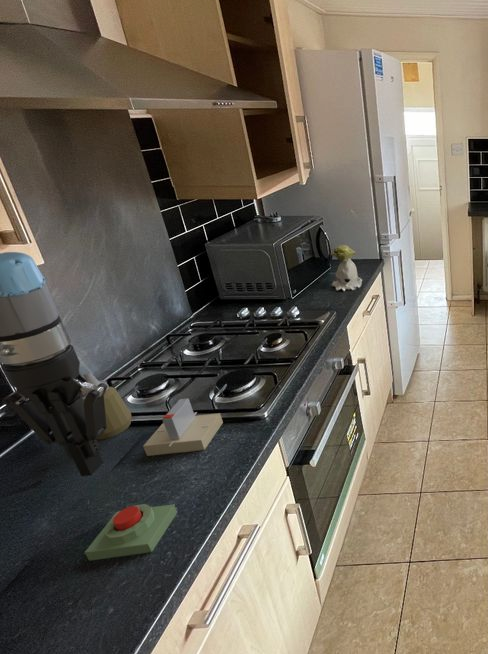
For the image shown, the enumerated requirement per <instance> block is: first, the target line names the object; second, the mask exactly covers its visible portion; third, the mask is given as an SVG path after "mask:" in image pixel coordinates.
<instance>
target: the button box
mask: <svg viewBox="0 0 488 654" xmlns="http://www.w3.org/2000/svg"><path fill="white" fill-rule="evenodd" d="M134 506H136V507H138V508H139V510H140V512H141V514H142V517H141V519H140V521H139V522H138V523H136V524H135V525H134V526H133V527H131V528H128V529H126V530H124V531H118V530H117V529H116V527H115V525H114V523H113V519H114V517H115V516H116V515H117V514H118V513H119V512H120V511H121V510H119V511H116V512H115V513H114V514H113V516H112V517H111V518H110V519H109V520H108V522H107V523H106V525H105V526H104V527H103V528H102V530H101V531H100V532H99V533H98V534H97V536H96V537H95V538H94V540H92V541H91V544H90V545H89V546H88V547H87V548H86V550H85V551H84V555H85V556H86V558H87V560H88V561H90V562H91V561H98V560H104V559H111V558H118V557H125V556H133V555H140V554H141V555H142V554H149V553H152V552H153V551H154V549H155V548H156V546H157V545H158V544H159V541H160V540H161V539H162V537H163V536H164V534H165V532H166V531H167V529H168V528H169V527H170V524H171V523H172V521H173V520H174V518H175V517H176V515H177V514H178V510H177V507H176V505H175V504H174V503H173V504H165V505H158V506H157V505H156V506H151V505H148V504H146V503H141V504H135V505H134Z"/></svg>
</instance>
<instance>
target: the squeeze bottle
mask: <svg viewBox="0 0 488 654" xmlns="http://www.w3.org/2000/svg"><path fill="white" fill-rule="evenodd" d="M82 376H84V377H85V378H86V380H87V383H90V384H93V385H96V386H98V385H99V384H101V383H104V384H106V385H107V389H106V391H105V393H104V404H105V415H106V426H107V428H106V429H105V430H104V431H103V432H102V433H101V434H100V435H99V436H98V437H97V438H96V439H97V440H105V439H110V438H113V437H115V436H117V435H119V434H121V433H123V432H124V431H125V430H127V429H128V428H129V427H130V425H131V423H132V413H131V411H130V409H129V408H128V407H127V405H126V403H125V402H124V400H123V398H122V397H121V395H120V394H119V392H118V391H117V389H116V388H115V387H113V386H109V384H108V383H107V381H106V380H104V379H103V380H101V379H100V380H98V379H97V377H95V375H94V374H93V373H92V372H91V371H86V372H84V373H82ZM81 393H82V395H83V392H81ZM84 401H85V400H83V404H84Z"/></svg>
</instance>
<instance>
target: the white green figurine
mask: <svg viewBox="0 0 488 654" xmlns="http://www.w3.org/2000/svg"><path fill="white" fill-rule="evenodd" d="M330 255H331V256H332V257H333V258H336V259H337V260H338V261H339V262H340V263H339V264H338V268H337V269H336V272H335V278H336V279H337V280H334V281H333V282H332V283H331V286H332V287H335V291H340V290H342V291H343V292H345V291H346V290H348V291H350V290H351V291H354V290H357V288H361V286H362V284H363V279H362V278H361V277H359V275H358V270H357V266H356V264H355V263H354V262H353V261H352V259H351V258H353V257H354V256H355V255H356V251H355V250H354V249H352V248H351V247H349V245H346V244H341V245H338V246H334V249H333V252H331V253H330ZM347 280H349V281H348V282H347Z"/></svg>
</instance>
